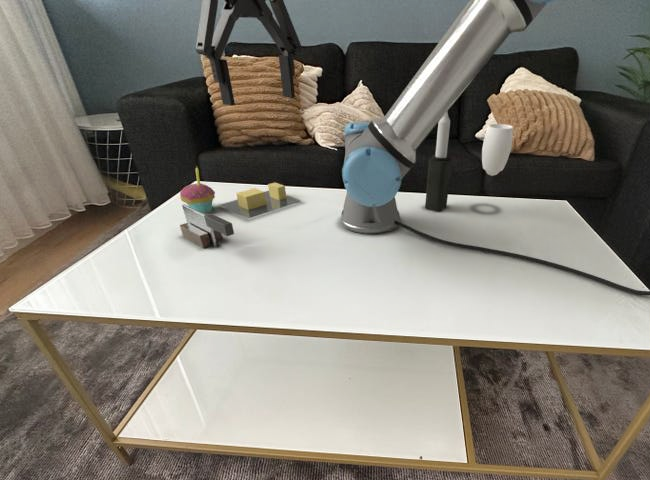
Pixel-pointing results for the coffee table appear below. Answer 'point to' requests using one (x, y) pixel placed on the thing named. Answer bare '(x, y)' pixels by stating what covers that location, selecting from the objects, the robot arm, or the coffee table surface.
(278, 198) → the butter pat
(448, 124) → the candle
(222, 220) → the cleaver
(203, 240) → the chocolate bar
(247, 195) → the butter
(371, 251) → the coffee table surface
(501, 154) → the cup
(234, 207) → the plate
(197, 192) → the cupcake
